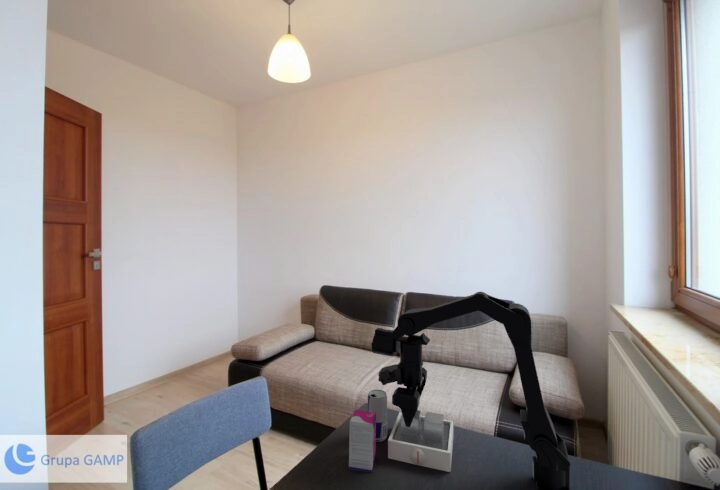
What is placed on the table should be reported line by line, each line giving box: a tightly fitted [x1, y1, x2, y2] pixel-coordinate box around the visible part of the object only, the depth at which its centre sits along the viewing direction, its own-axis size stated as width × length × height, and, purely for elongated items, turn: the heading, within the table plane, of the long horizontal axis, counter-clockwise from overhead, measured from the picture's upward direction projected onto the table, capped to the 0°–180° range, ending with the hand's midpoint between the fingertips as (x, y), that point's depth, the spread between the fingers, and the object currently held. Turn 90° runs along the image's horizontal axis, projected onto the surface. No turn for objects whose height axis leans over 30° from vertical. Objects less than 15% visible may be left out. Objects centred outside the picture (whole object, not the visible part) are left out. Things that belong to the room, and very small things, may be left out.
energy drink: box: [367, 389, 388, 443], centre depth 88 cm, size 5×5×12 cm
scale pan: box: [394, 420, 449, 451], centre depth 84 cm, size 13×12×1 cm
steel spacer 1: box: [401, 409, 422, 437], centre depth 85 cm, size 4×4×4 cm
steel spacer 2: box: [424, 411, 445, 442], centre depth 83 cm, size 4×4×4 cm
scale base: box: [387, 411, 454, 473], centre depth 84 cm, size 15×14×4 cm
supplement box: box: [348, 409, 377, 473], centre depth 78 cm, size 6×6×12 cm
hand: (411, 416), depth 85 cm, fingers open, 9 cm apart
